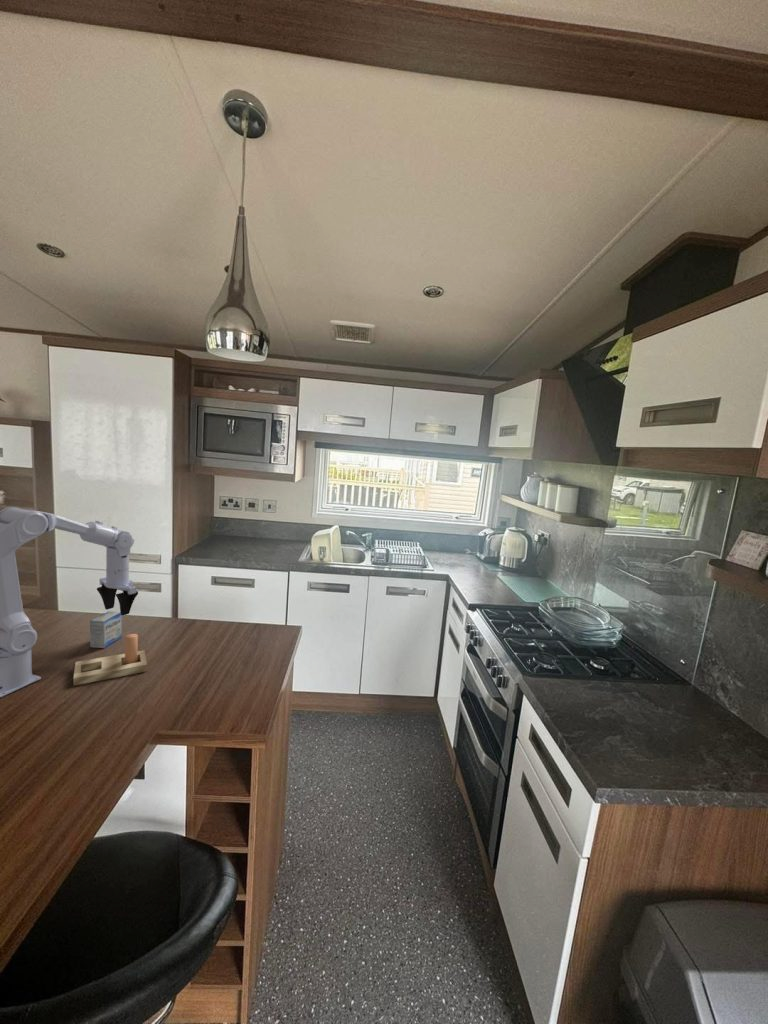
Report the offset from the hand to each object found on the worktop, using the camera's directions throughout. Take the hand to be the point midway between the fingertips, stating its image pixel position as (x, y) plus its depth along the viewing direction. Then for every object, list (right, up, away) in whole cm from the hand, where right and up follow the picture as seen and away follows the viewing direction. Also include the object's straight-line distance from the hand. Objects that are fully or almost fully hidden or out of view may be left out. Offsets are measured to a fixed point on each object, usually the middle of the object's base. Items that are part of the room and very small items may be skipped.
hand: (117, 611), depth 122 cm
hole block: (+8, -13, -14) cm, 20 cm away
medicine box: (-4, -10, +1) cm, 11 cm away
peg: (+11, -13, -11) cm, 20 cm away
